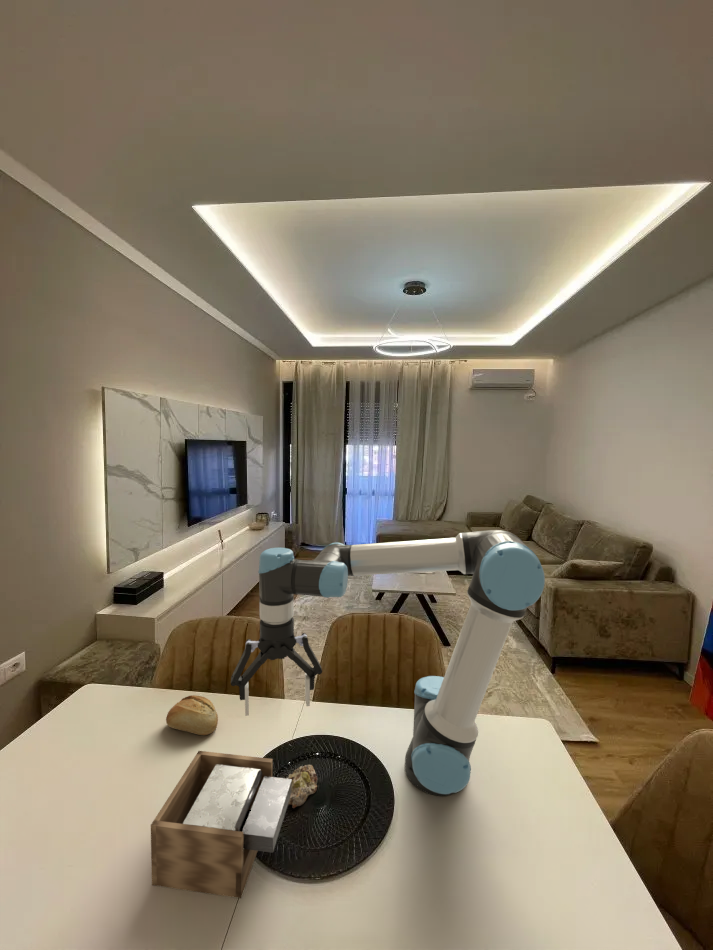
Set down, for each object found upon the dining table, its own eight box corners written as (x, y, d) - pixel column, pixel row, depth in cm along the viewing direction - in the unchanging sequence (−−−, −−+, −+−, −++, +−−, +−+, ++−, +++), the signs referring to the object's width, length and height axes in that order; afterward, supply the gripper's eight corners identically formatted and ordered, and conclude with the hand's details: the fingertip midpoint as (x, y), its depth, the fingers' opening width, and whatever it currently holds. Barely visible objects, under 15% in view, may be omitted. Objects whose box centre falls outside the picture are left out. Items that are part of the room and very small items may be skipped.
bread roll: (178, 712, 123) (178, 687, 122) (225, 719, 120) (225, 693, 120) (157, 735, 114) (157, 708, 113) (208, 743, 111) (208, 715, 110)
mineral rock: (290, 759, 104) (319, 758, 102) (294, 775, 104) (324, 774, 102) (272, 797, 93) (304, 796, 91) (277, 815, 94) (309, 814, 92)
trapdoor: (182, 843, 77) (182, 823, 76) (216, 781, 91) (216, 763, 90) (272, 855, 75) (272, 834, 75) (292, 790, 89) (292, 772, 89)
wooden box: (272, 809, 92) (272, 758, 91) (241, 898, 74) (241, 837, 73) (199, 800, 94) (198, 750, 93) (151, 885, 76) (150, 825, 75)
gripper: (328, 605, 100) (328, 689, 102) (219, 616, 94) (221, 705, 95) (334, 619, 93) (334, 708, 94) (217, 631, 86) (219, 727, 88)
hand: (277, 707), depth 95 cm, fingers open, 13 cm apart
